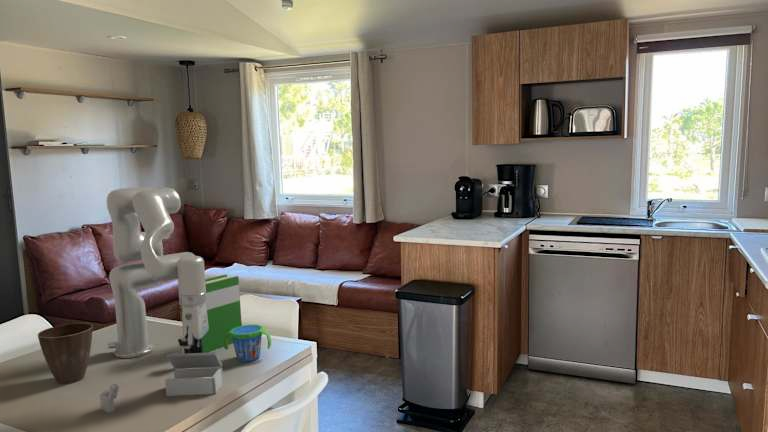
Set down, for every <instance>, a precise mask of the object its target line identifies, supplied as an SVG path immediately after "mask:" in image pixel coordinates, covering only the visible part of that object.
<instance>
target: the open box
mask: <svg viewBox="0 0 768 432" xmlns="http://www.w3.org/2000/svg"><path fill="white" fill-rule="evenodd" d="M223 372H224V371H223V366H222V367H208V368H184V369H175V368H174V370H173V376H174V378H166V379H165V382H164V383H165V393H166V397H174V396H175V397H176V396H196V395H197V396H199V395H200V396H201V395H216V394H217V393H218V392H219V390H220V389H221V388H222V386H223V384H224V377H223V376H224V375H223V374H224V373H223Z"/></svg>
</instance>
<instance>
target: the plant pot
mask: <svg viewBox="0 0 768 432" xmlns="http://www.w3.org/2000/svg"><path fill="white" fill-rule="evenodd" d="M93 327H94V326H93V324H91V323H88V322H77V323H76V322H73V323H67V324H59V325H56V326H52V327H48V328H46V329H43V330H41V331H39V332H38V333H37V337H38V342H39V346H40V348H41V351H42V355H43V356H44V359H45V362H46V364H47V367H48V369H49V371H50V373H51V374H52V376H53V378H54V379H55V381H56V383H58V384H61V385H65V384H73V383H76V382H78V381H81V380H83V379H84V378H85V375H86V371H87V368H88V364H89V360H90V356H91V355H90V354H91V350H92V349H91V348H92V340H93Z"/></svg>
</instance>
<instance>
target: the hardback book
mask: <svg viewBox="0 0 768 432" xmlns="http://www.w3.org/2000/svg"><path fill="white" fill-rule="evenodd" d="M205 284H206V299H207V303H206V308H207V316H208V325H209V329H208V331H207V333H206V334H205V335H204V336H203V337H202V346H203V353H207V352H209V353H210V352H215V351H217V350H218V349H222V348H224V338H225V336H226V334H227V333H228V332H230V331H231V330H232V329H234V328H236V327H239V326H243V324H242V307H241V296H240V278H239V275H237V276H232V277H231V276H228V274H222V275H217V276H214V277H209V278H205ZM227 344H228V346H231V345H234V344H233V339H232V337H231V335H230V334H229V335H228V337H227ZM216 349H217V350H216Z"/></svg>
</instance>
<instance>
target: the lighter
mask: <svg viewBox="0 0 768 432" xmlns="http://www.w3.org/2000/svg"><path fill="white" fill-rule="evenodd" d="M119 389H120V388H119V385H118V384H117V383H113V384H110V385H109V389H106V390H103V391H102V393H99V403H100V410H102V411H104V412H107V413H112V412H115V410H116V408H115V407H116V406H115V399H116V398H117V396H118V392H119Z"/></svg>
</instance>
